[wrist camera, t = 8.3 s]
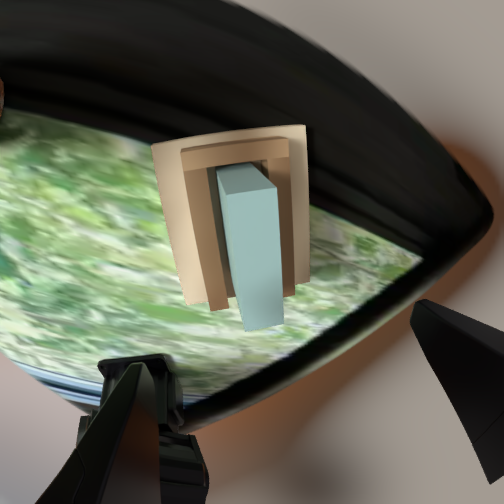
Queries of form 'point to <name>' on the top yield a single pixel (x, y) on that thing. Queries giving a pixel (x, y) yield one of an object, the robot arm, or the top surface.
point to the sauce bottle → (1, 96)
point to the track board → (209, 213)
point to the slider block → (252, 243)
